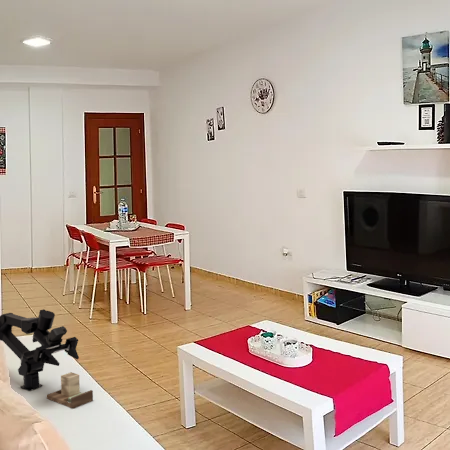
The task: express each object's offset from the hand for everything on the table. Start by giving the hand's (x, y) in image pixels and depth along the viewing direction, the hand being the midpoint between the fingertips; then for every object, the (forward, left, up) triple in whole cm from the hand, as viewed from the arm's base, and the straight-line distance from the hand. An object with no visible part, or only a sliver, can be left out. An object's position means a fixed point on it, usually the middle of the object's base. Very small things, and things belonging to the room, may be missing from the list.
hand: (68, 361), depth 225 cm
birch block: (-3, +3, -14) cm, 15 cm away
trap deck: (-1, +1, -16) cm, 16 cm away
